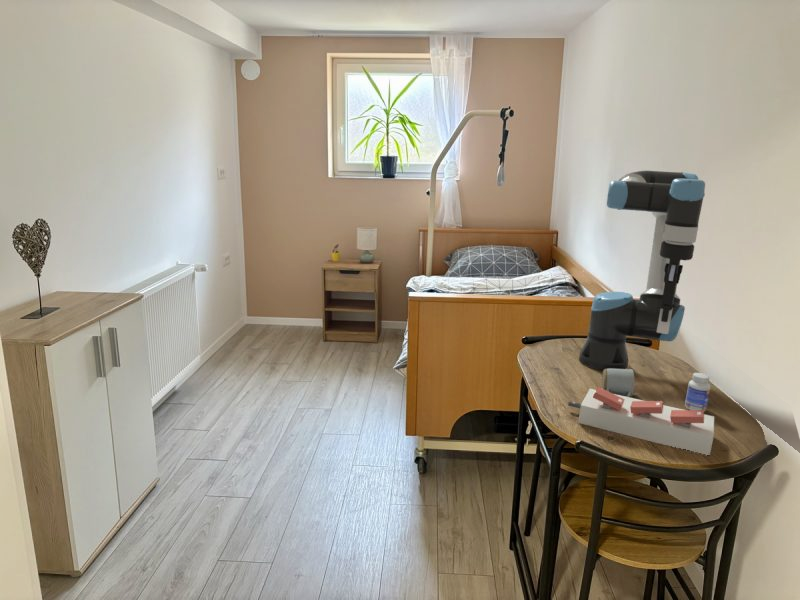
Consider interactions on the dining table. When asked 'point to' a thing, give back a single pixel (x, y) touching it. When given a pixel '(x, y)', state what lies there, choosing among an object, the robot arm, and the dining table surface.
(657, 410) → the block
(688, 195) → the robot arm
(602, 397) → the block
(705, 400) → the pill bottle
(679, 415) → the block
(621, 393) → the ceramic mug
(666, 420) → the switch panel
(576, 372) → the dining table surface
